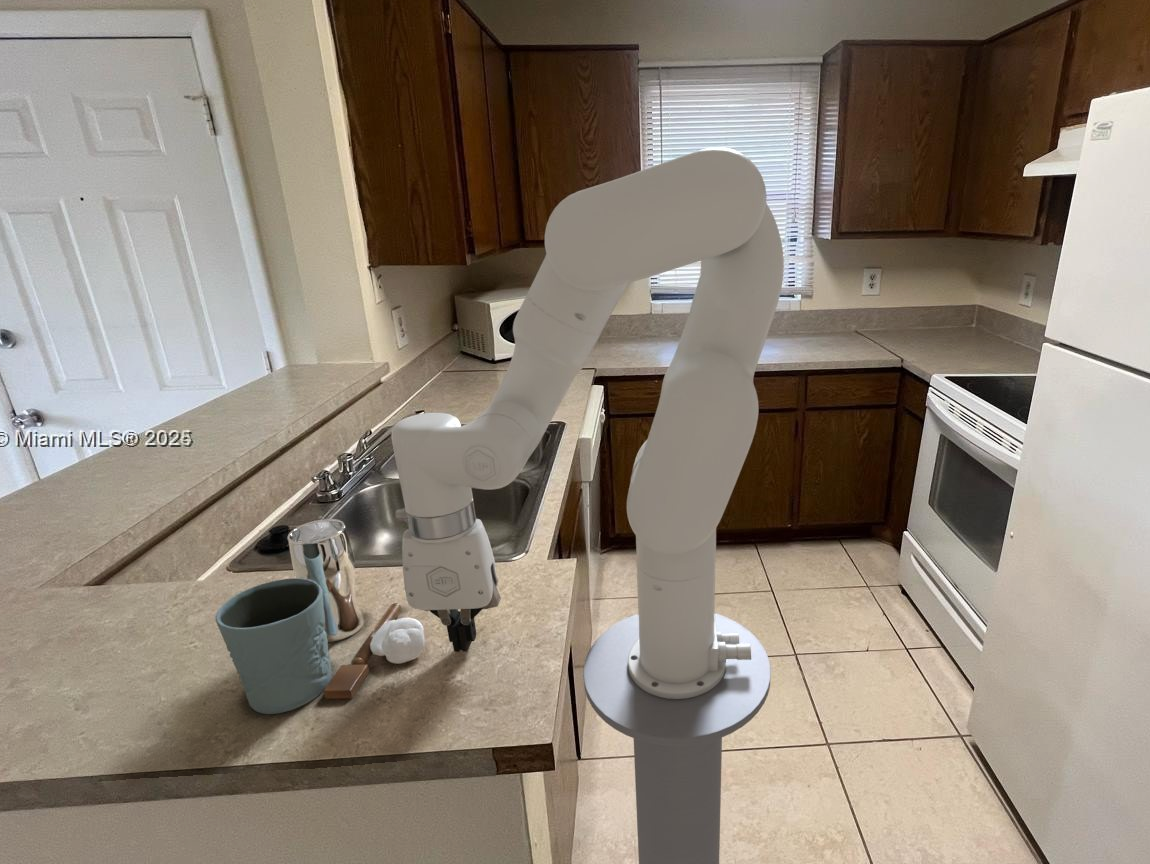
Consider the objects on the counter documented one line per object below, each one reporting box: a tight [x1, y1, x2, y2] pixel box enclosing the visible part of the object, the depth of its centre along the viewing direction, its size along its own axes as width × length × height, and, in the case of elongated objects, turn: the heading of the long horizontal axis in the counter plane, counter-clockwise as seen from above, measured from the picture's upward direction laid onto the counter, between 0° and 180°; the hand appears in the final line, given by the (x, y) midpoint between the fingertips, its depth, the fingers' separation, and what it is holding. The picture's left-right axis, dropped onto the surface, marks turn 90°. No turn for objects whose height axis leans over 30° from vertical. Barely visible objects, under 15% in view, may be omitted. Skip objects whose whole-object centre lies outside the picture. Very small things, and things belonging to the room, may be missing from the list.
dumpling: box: [370, 617, 425, 665], centre depth 78 cm, size 7×5×4 cm
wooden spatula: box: [322, 602, 402, 700], centre depth 79 cm, size 17×3×2 cm, turn 1°
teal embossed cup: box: [215, 577, 332, 715], centre depth 71 cm, size 10×10×12 cm
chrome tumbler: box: [287, 518, 365, 643], centre depth 81 cm, size 7×7×15 cm
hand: (464, 644), depth 78 cm, fingers closed
